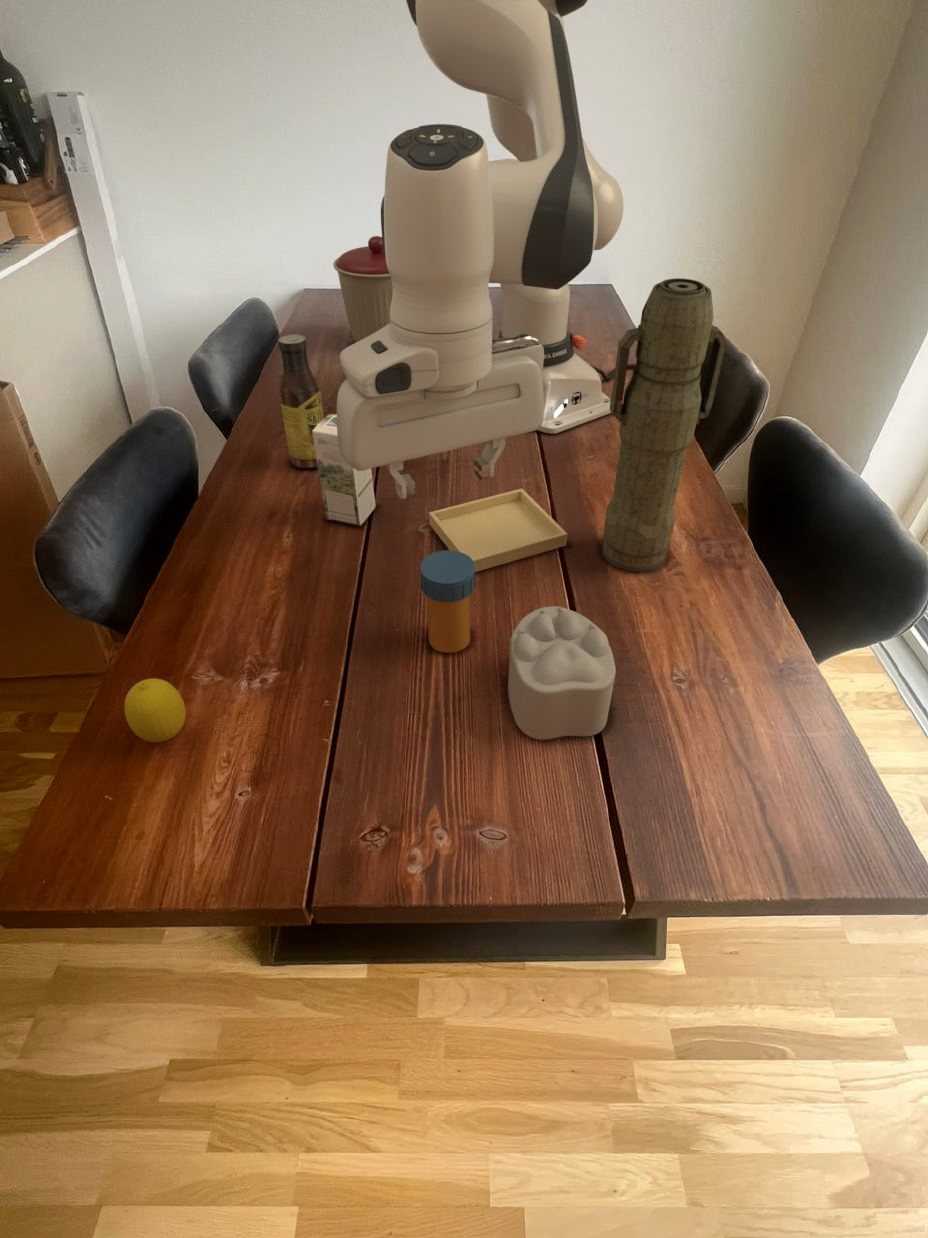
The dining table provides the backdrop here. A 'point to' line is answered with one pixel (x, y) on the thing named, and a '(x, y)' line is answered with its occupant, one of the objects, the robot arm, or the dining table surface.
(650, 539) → the thermos
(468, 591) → the lid
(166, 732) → the lemon
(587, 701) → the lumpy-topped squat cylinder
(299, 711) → the dining table surface
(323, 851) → the dining table surface
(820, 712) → the dining table surface
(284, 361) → the sauce bottle
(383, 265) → the canister
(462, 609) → the jar
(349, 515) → the syrup box
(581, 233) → the robot arm
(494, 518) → the tray
